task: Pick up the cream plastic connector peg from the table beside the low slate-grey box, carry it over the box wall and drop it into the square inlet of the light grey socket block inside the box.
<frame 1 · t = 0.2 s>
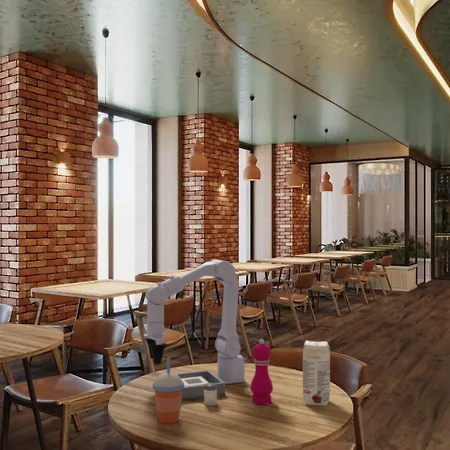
hand: (155, 361, 173), 10 cm above the table, tool pointing down, fingers open, 7 cm apart
drinking straw: (168, 420, 147), on the table
pepper mill: (261, 402, 162), on the table
juice carton: (316, 402, 162), on the table
walled box: (193, 390, 173), on the table
connector peg: (210, 403, 160), on the table
inlet socket: (193, 384, 173), in the walled box, point 1 cm above the table
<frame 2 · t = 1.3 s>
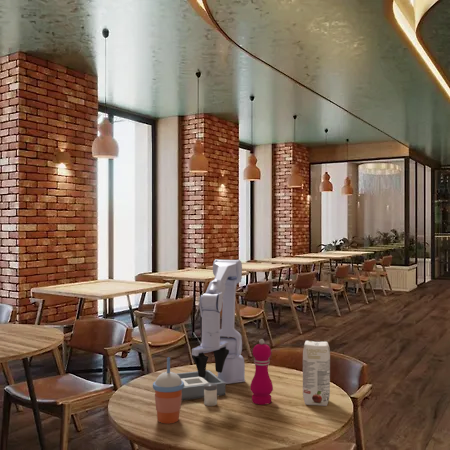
hand: (210, 374, 160), 9 cm above the table, tool pointing down, fingers open, 7 cm apart
nothing on the table moved.
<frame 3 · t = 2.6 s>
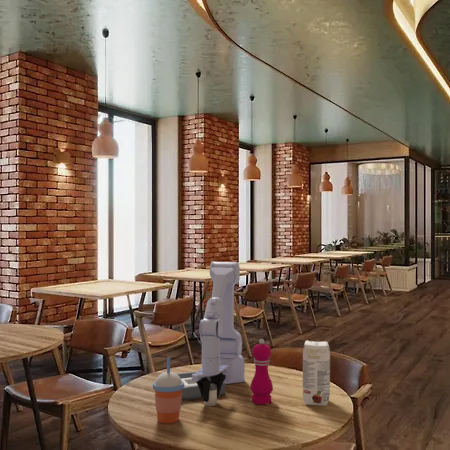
hand: (210, 399, 160), 1 cm above the table, tool pointing down, fingers closed on connector peg, 4 cm apart
connector peg: (210, 403, 160), on the table, touching gripper
everything else where it was.
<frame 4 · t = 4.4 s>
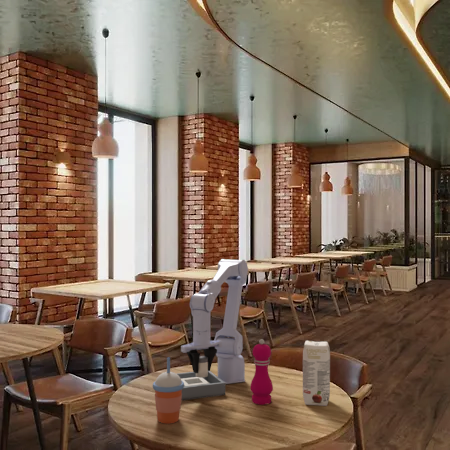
hand: (201, 371, 167), 8 cm above the table, tool pointing down, fingers closed on connector peg, 4 cm apart
connector peg: (201, 375, 167), point 7 cm above the table, touching gripper
everything else where it was.
when the fingers open (4 cm above the table, at t = 6.4 s): connector peg drops 2 cm, resting on walled box.
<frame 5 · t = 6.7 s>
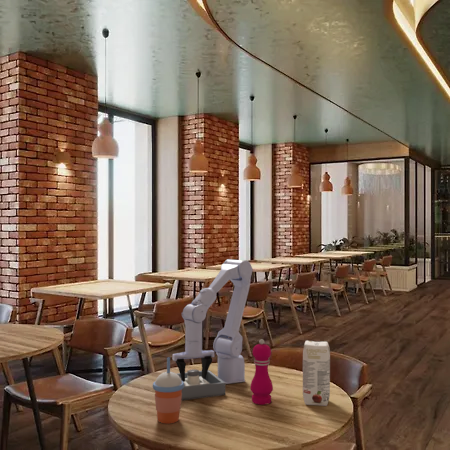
hand: (193, 379, 173), 4 cm above the table, tool pointing down, fingers open, 7 cm apart
connector peg: (193, 388, 173), point 1 cm above the table, touching walled box
everything else where it was.
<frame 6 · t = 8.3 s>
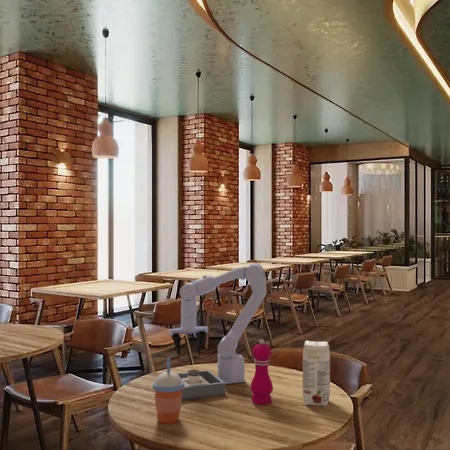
hand: (188, 353, 186), 9 cm above the table, tool pointing down, fingers open, 7 cm apart
nothing on the table moved.
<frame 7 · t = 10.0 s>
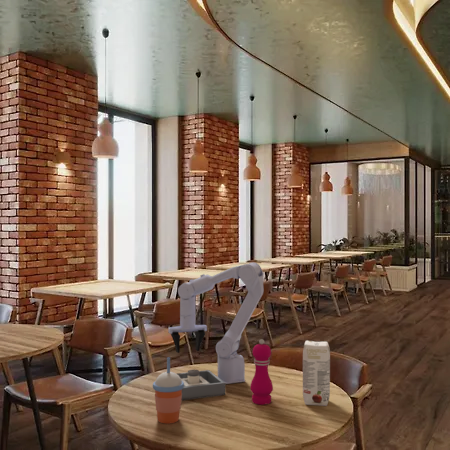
hand: (187, 351, 189), 9 cm above the table, tool pointing down, fingers open, 7 cm apart
nothing on the table moved.
at the end: connector peg 0.0 cm off-centre on the inlet socket, point 0.6 cm above the inlet socket's base; connector peg tilted 0°; the gripper is holding nothing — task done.
